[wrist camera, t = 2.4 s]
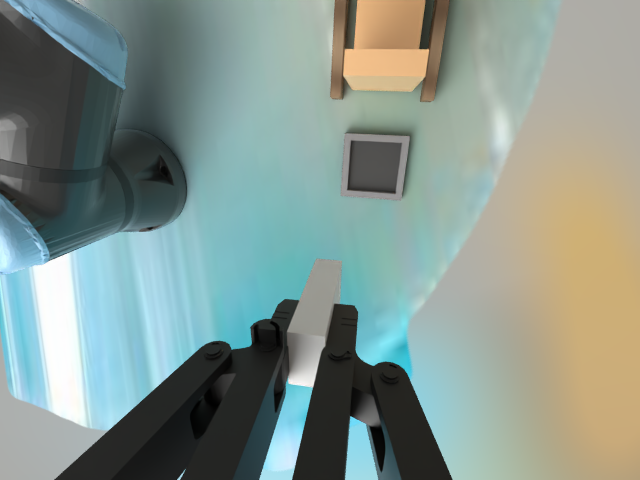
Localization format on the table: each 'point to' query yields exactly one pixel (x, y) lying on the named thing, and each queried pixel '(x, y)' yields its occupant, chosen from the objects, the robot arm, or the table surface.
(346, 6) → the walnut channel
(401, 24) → the tan l-shaped block
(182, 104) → the table surface
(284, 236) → the table surface
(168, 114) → the table surface
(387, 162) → the pad
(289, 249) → the table surface
